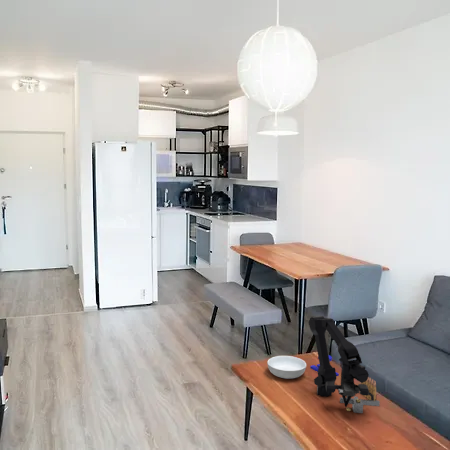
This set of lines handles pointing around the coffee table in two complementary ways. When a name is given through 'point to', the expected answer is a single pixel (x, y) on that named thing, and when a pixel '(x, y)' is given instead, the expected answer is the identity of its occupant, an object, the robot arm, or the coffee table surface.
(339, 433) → the coffee table surface
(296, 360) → the serving bowl
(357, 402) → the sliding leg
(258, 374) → the coffee table surface
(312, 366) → the mount
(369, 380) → the ammunition clip
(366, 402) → the hole plate
